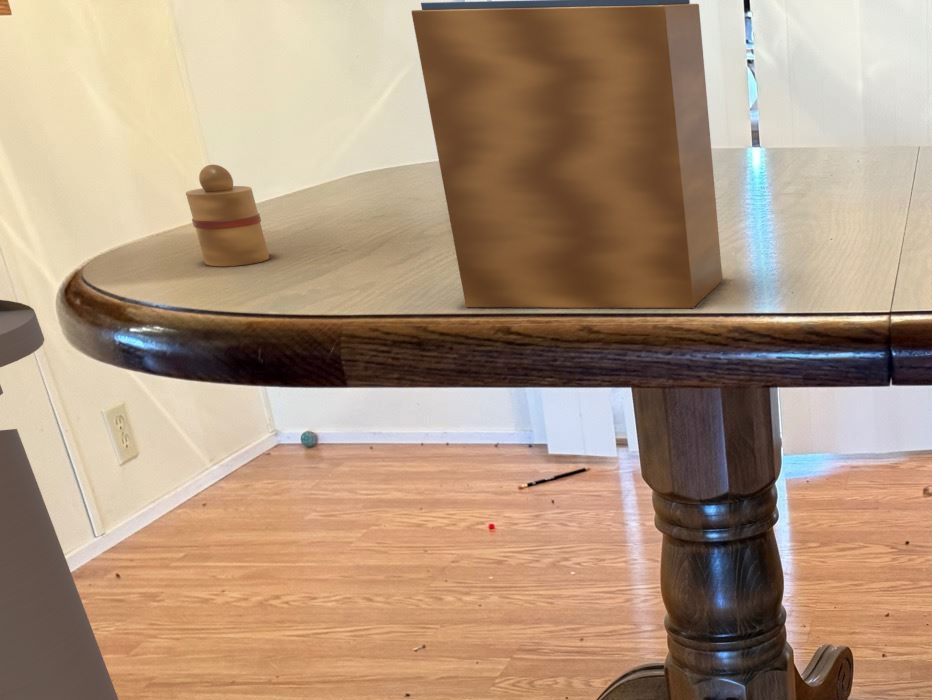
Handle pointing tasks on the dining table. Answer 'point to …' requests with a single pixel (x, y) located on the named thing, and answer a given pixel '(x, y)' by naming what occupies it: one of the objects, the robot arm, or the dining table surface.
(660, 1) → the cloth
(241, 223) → the pepper mill
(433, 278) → the dining table surface
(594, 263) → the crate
